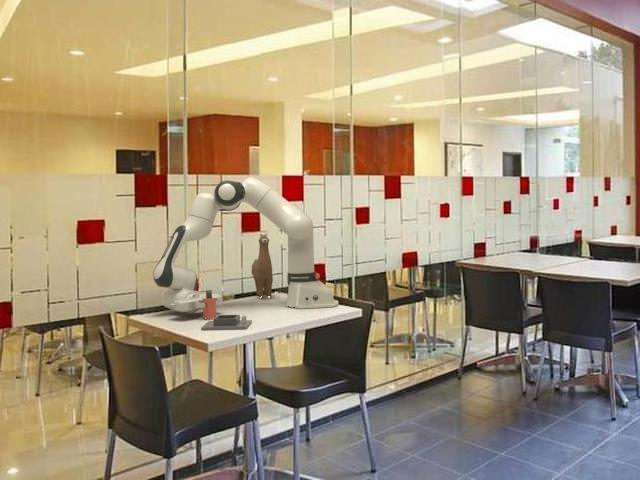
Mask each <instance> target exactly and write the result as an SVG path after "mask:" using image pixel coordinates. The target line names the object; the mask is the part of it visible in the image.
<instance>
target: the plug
mask: <svg viewBox="0 0 640 480" xmlns="http://www.w3.org/2000/svg"><path fill="white" fill-rule="evenodd" d="M205 291H206V298H202V299H203V303H207V307H206V308H202V312H203V313H202V318H206V319H205V320H207V319H211V320H213V318H215V317H217V306H216V298H213V297H212V293H213V291H212V289H206V290H205Z"/></svg>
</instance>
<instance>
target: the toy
mask: <svg viewBox="0 0 640 480" xmlns="http://www.w3.org/2000/svg"><path fill="white" fill-rule="evenodd" d="M259 236H260V237H259V239H258V244H259V249H258V258H256V259H254V260H253V262H252V265H251V271H250V272H251V275H252V277H253V280H254V283H255V284H254V285H255V291H256V297H257V296H259V298H260V297H261V296H263V297H264V296H265V295H267V296H271V297H272V286H273V283H274V281H273V279H274V277H273V265H272V264H273V263H272V260H271V256H270V252H269V251H270V250H269V242H270V239H269V238H268V234H267V233H266V234H259ZM267 296H266V297H267Z"/></svg>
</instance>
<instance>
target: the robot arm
mask: <svg viewBox="0 0 640 480" xmlns="http://www.w3.org/2000/svg"><path fill="white" fill-rule="evenodd" d="M241 203H246V204H248V205H250V206H251V207H252V208H254V209H255V210H256V211H258V212H259V213H260V214H261V215H262V216H264V217H265V218H267V219H268V220H269V221H270V222H271V223H272V224H274V226H276V227H277V228H278V229H280V231H282V232H283V233H284V234H285V235H287V266H288V267H287V268H288V271H287V275H286V276H287V281H286V282H287V286H288V287H287V289H288V291H287V298H286V303H285V307H288V306H289V307H288V308H293V307H295V308H294V309H298V310H299V309H301V310H302V309H318V308H319V309H320V308H334V307H337V306H338V305H339V301H338V299H334V295H333V294H334V293H333V291H332V289H331V288H330V287H329V286H328V285H326V284H324V283H323V282H322V281H321V280H320V276H321V275H320V273H319V272H317V271H315V256H314V255H315V252H314V251H315V250H314V247H315V246H314V241H315V240H314V223H313V219H311V218H310V216H309V215H307V214H304V213H303V212H302V211H301V210H299V209H298V208H297V207H295V206H294V205H293V204H292V203H290V202H289V200H287V199H286V198H285V197H283V196H282V195H281V194H279V192H276V190H274V189H273V188H272V187H270V186H269V185H268V184H266V183H265V182H263V181H261V180H259V179H257V178H255V177H251V176H250V177H248V178H245V179H244V180H243V181H242V182H239V181H234V180H223V181H220V182H218V183H217V184H216V186H215V188H214V190H213V193H209V192H200V193H198V194H197V195H196V196H195V197H194V199H193V201H192V203H191V205H190V209H189V211H188V213H187V216H186V219H185V221H184V222H183V224H181V225H178V226H177V228H176V229H175V230H174V232H173V234H172V236H171V238H170V239H169V242H168V243H167V245H166V247H165V250H164V252H163V254H162V256H161V258H160V259H159V261H158V262H157V264H156V265H155V267H154V269H153V271H152V277H153V278H152V279H153V282H154V283H155V284H156V286H158V287H161V288H166V289H165V290H163V291H162V293H160V294H161V295H160V301H161V304H162V305H163V306H164V307H165V308H167V309H169V310H172V311H176V312H183V313H189V314H193V313H196V312H198V311H200V310H203V308H206V307H207V303H203V299H202V298H206V290H204V291H202V290H201V291H197V290H196V289H197V285H198V276H197V273H196V271H194V269H192V268H188V267H185V266H180V265H177V264H175V262H176V259H177V257H178V255H179V253H180V251H181V249H182V247H183V246H184V244H186V243H188V242H192V241H193V242H194V241H200V240H203V239H205V238H207V237H208V236H209V235H210V234H211V232H212V229H213V227H214V223H215V220H216V217H217V214H218V213H219V212H224V211H225V212H229V211H230V212H231V211H234V210H236V209H237V208H239V206H241ZM212 297H213V298H216V307H217V306H222V305H223V304H224V303H223V302H224V301H223V300H224V298H223V296H222V295H221V294H217V293H213V292H212Z"/></svg>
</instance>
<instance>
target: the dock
mask: <svg viewBox="0 0 640 480" xmlns="http://www.w3.org/2000/svg"><path fill="white" fill-rule="evenodd" d="M252 323H253V320H252V319H247V315H242V316H241V314H218V315H216V317H215V318H214V319H212V320H207V322H206V323H205V324H204V325H202V326H201V328H200V330H201V331H233V330H247V329H249V327H250V326H251V325H252Z"/></svg>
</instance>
